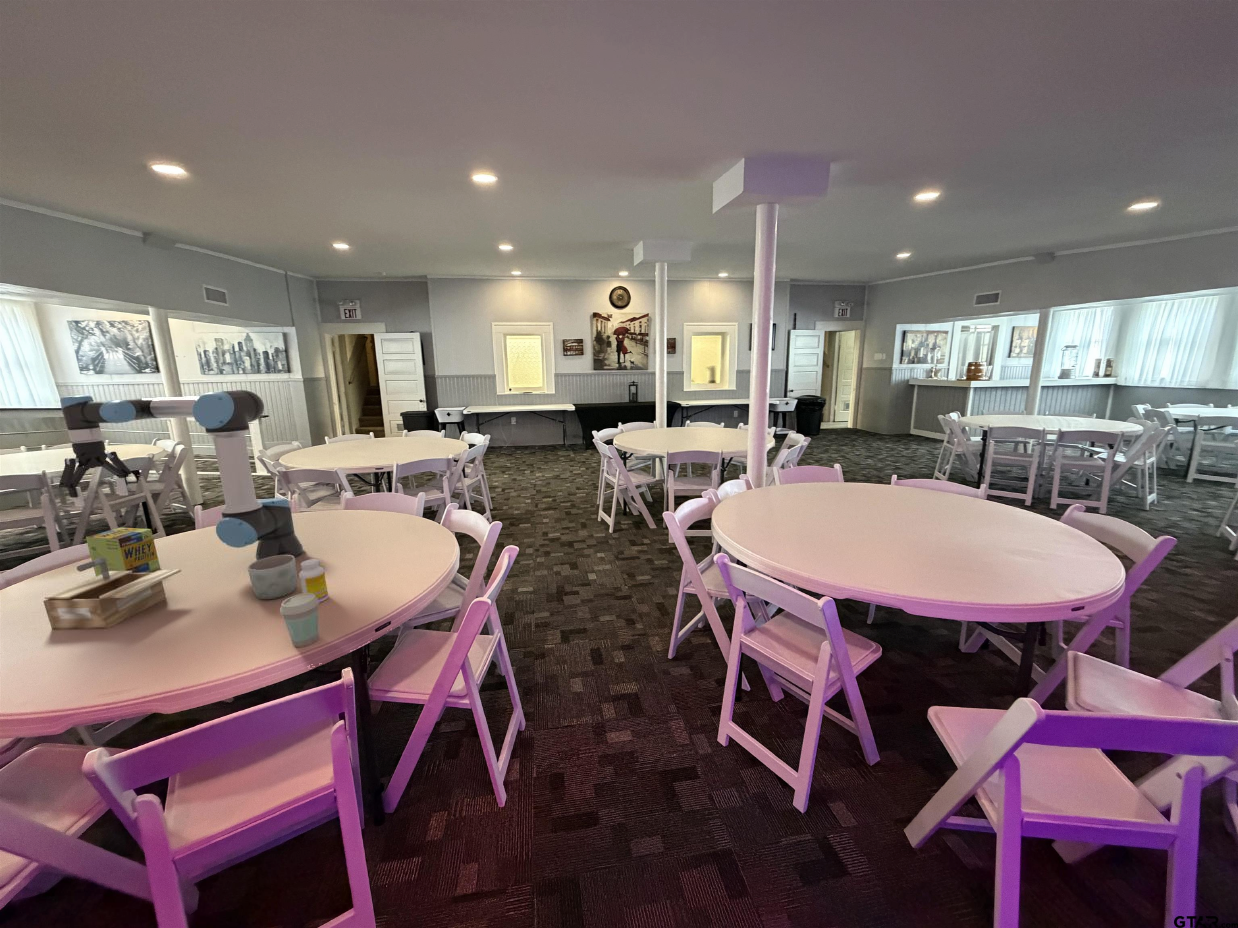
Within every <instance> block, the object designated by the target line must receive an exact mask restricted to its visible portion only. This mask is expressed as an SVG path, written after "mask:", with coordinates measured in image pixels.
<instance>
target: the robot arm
mask: <svg viewBox="0 0 1238 928" xmlns="http://www.w3.org/2000/svg"><path fill="white" fill-rule="evenodd" d="M59 400H60V401H59V402H60V407H61V409H60V410H61V412H62V415H63V418H64V422H65V425H66V428H67V432H68V435H69V439H70V440H69V441H71V442H72V443H71V447H72V452H73V454H74V455H75V457H72V458H71V457H70V458H69V457H68V458H65V459H64V467H63V470H62V474H61V477H60V480H59V483H58V487H59V488H63V489H67V491H68V494H69V498H72V499H73V502H74V506H75V507H86V505H85V500H84V497H83V496H84V495H83V494H82V488H81V487H80V486H79V487H78V485H80V482H81V481H82V479H83V477H84V476H85V475H86V473H87V471H89V470H90V469H95V468H100V467H101V468H104V469H105V470H107V471H108V472H109V473H111V474H113V475H114V476H116V478H114V479H115V484H116V486H117V487H116V488H117V491H118V495H119V496H120V497H121V496H124V497H125V496H129V491H128V488H127V486H128V484H129V483H128V480H127V479H128V477H129V475H132V474H133V473H132V471H131V470H130V469H129V467H128V466H127V465H126V464H125V463H124V462H123V461H122V460H121V458H119V456H118V454H117V452H116V451H107V452H106V444H105V442H104V440H103V438H104V436H103V433H102V430H101V425H100V424H123V423H129V422H132V421H139V420H140V421H141V420H150V419H151V420H153V419H155V420H156V419H157V420H158V419H181V418H183V419H185V418H186V419H187V418H189V419H190V418H193V419H194V420H195V423H198V425H199V426H201V427H203V428H204V429H205V430H204V431H205V433H206V434H207V435H209V437H212V440H213V446H214V450H215V456H216V461H217V466H218V472H219V476H220V481H221V487H222V491H223V499H224V503H225V505H224V507H223V508H221V511H220V512H221V516H222V517H221V518H222V519H220V520H219V521H218V523H216V526H215V532H216V536H217V537H218V539H219V540H220V541H221V542H222V543H223V544H226V545H227V546H228V547H231V548H234V549H235V548H236V549H239V548H245V547H247V546H251V545H253V544H255V543H256V542H257V545H256V552H255V559H256V560H255V561H258V560H261V559H264V558H267V557H272V556H277V555H292V556H294V557H295V558H297V557H299V556H300V555H301V554H303V553H304V548H303V545H302V543H301V541H300V540H299V538H298V536H297V535H296V533H295V527H294V521H293V515H292V506H291V505H290V500H289V499H287V498H283V497H276V498H264V499H263V498H262V499H257V495H256V491H255V486H254V485H255V484H254V480H253V473H252V468H251V463H250V457H249V450H248V445H247V439H246V434H247V433H248V432H250V426H249V423H252V422H255V421H257V420H258V419H259V418H261V417H262V415H263V414H264V410H265V404H264V400H262V398H261V397H260V396H259V395H258V394H257V393H255V392H253V391H250V390H244V389H237V390H223V391H211V392H207V393H203V394H201V395H200V396H178V397H176V396H175V397H174V396H173V397H172V396H171V397H169V396H168V397H153V396H152V397H144V398H143V397H142V398H140V397H139V398H133V399H131V398H130V399H128V398H127V399H115V400H114V399H113V400H97V401H94V399H93V397H92V395H67V396H62V397H60V399H59ZM107 459H108V460H109V461H108V460H107ZM77 464H78V465H77Z"/></svg>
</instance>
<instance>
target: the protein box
mask: <svg viewBox="0 0 1238 928" xmlns="http://www.w3.org/2000/svg"><path fill="white" fill-rule="evenodd" d="M85 539H86V543H87V547H88V550H89V556H90V558H91V561H93V560H96V559H99V558H101V557H104V558H106V564H107V568H108V572H109V571H132V573H152V572H153V571H154V572H155V571H157V570H160V569H161V564H160V561H159V557H158V551H157V548H156V544H155V540H154V535H153V531H152V528H151V529H150V528H136V527H135V528H134V527H118V528H113V529H111V530H107V531H103V532H99V533H94V534H92V535H87V536H85ZM93 569H94V574H95V577H96V576H99V575H101V574H102V572H101V568H100V565H97V566H94V567H93Z"/></svg>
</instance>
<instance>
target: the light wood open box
mask: <svg viewBox="0 0 1238 928" xmlns="http://www.w3.org/2000/svg"><path fill="white" fill-rule="evenodd" d="M181 572H182V569H162V570H161V569H157V570H155V571H154V572H153V571H152V572H148V573H129V574H127V575H124V576H122V577H120V578H117V579H115V580H113V581H110V582H108V583H106V584H103V585H101V586H98V587H96V588H94V589H91V590H89V591H87V592H84V593H82V594H79V595H77V596H75V597H72V598H70V599H44V600H43V605H44V608H45V611H46V615H47V617H48V621H49V624H50V627H51V630H53V631H54V630H55V631H57V630H58V631H59V630H63V631H64V630H107V629H109V628H112V627H113V626H115V625H117V624H119V623H120V622H122V621H125V620H127V619H128V618H131V617H132V616H134V615H137V614H139V613H140V612H142V611H145V610H146V609H148V608H150V607H152V606H154V605H156V604H158V603H160V602H162V601H164V600H166V599H167V596H166V593H165V587H164V584H163V581H164V580H166V579H168V578H171V577H172V576H173V577H174V575H177V574H179V573H181Z"/></svg>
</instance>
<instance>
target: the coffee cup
mask: <svg viewBox="0 0 1238 928" xmlns="http://www.w3.org/2000/svg"><path fill="white" fill-rule="evenodd" d="M279 613H280V614H281V615H282V617H283V620H284V624H285V626H286V628H287V631H288V635H289V637H290V639H291V643H292V646H293V647H295V648H303V647H307V646H310V645H312V644H314V643H315V642H317V641H318V640H319V639H320V638H319V637H320V634H319V601H318V599H317V598H316V596H315V595H314V594H312V593H304V594H302V593H299V594H295V595H293V596H290V597H288V598H286V599H284V600H283V601H282V602H281V605H280V608H279Z"/></svg>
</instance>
